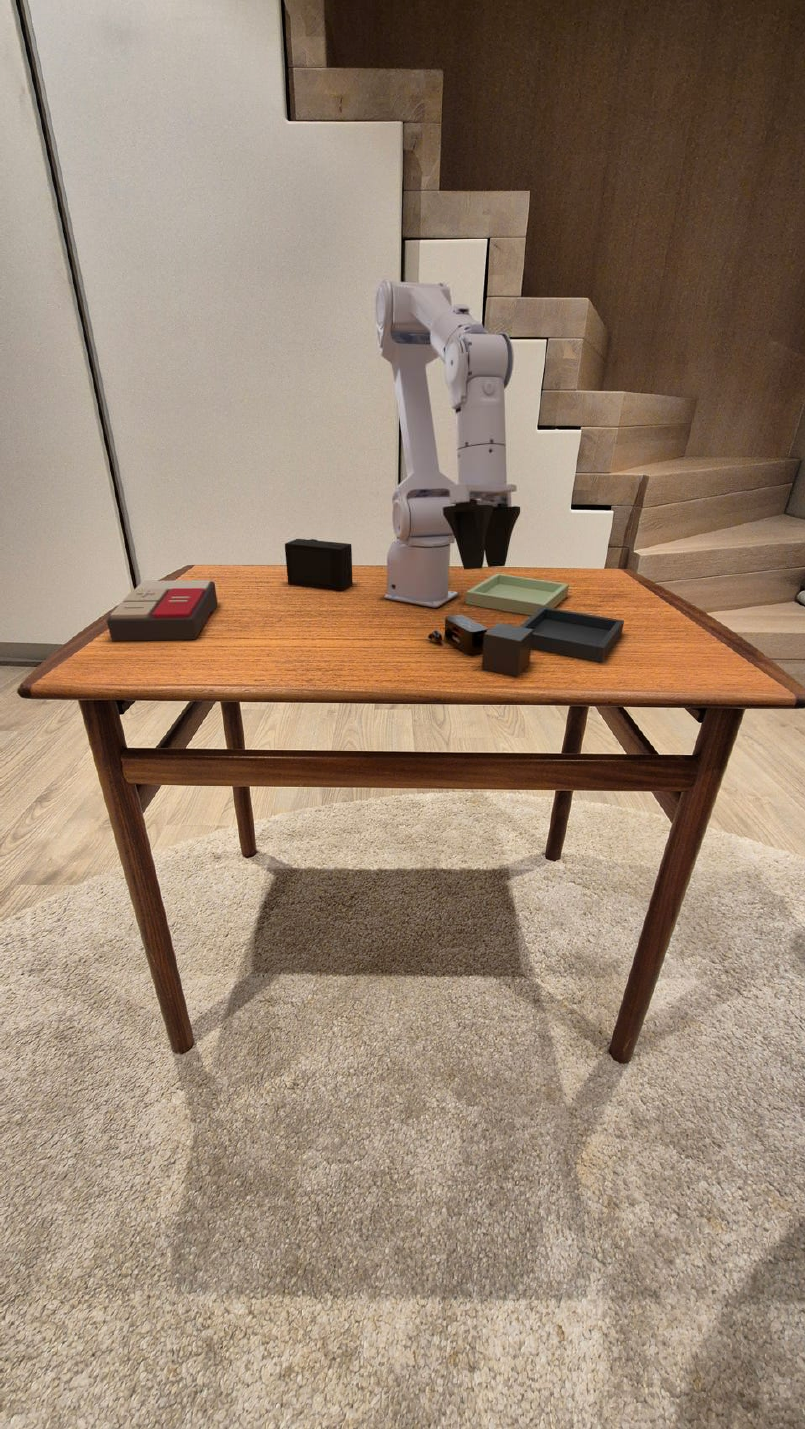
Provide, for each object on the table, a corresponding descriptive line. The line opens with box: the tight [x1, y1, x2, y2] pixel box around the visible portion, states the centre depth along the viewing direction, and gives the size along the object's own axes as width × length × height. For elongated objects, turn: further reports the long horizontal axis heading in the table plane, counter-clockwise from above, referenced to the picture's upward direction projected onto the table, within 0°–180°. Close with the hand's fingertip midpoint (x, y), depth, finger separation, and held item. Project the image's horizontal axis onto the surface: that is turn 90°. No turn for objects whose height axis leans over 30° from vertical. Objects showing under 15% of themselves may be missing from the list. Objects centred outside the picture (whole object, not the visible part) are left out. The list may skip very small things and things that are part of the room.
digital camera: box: [284, 538, 354, 592], centre depth 101 cm, size 10×5×7 cm, turn 69°
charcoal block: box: [481, 622, 533, 678], centre depth 72 cm, size 4×4×4 cm
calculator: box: [106, 579, 219, 642], centre depth 84 cm, size 11×4×15 cm
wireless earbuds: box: [427, 614, 488, 656], centre depth 77 cm, size 5×7×3 cm, turn 30°
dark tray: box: [518, 607, 625, 663], centre depth 80 cm, size 12×12×2 cm
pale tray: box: [465, 573, 570, 617], centre depth 96 cm, size 13×13×2 cm
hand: (485, 567), depth 74 cm, fingers open, 7 cm apart
